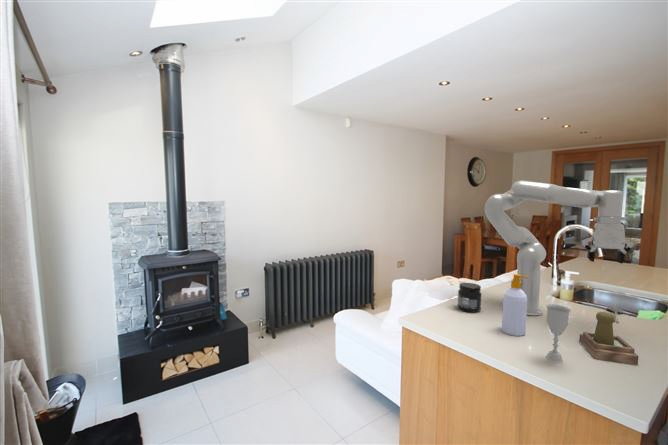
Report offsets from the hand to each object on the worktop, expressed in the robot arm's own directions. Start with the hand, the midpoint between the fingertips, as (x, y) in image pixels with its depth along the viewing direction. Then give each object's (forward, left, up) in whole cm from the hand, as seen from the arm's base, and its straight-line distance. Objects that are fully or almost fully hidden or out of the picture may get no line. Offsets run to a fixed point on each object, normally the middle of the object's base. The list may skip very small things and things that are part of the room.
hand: (605, 261), depth 137 cm
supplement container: (-51, +5, -29) cm, 59 cm away
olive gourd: (-8, -25, -25) cm, 36 cm away
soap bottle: (-35, -17, -28) cm, 48 cm away
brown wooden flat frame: (-7, -25, -28) cm, 38 cm away
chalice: (-26, -37, -28) cm, 53 cm away
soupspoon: (+13, +20, -29) cm, 37 cm away
